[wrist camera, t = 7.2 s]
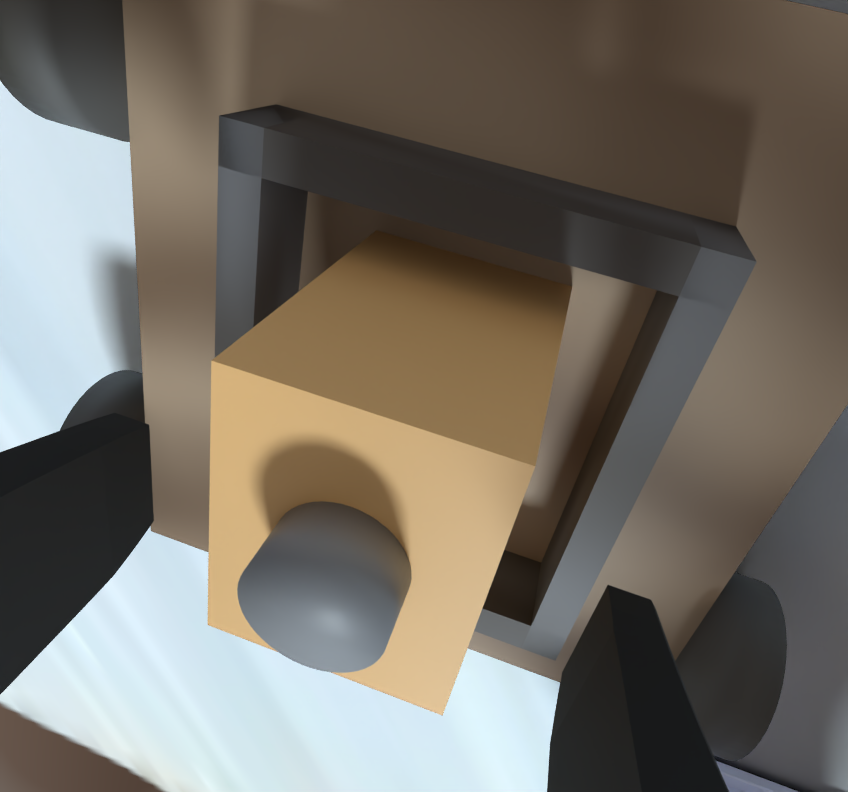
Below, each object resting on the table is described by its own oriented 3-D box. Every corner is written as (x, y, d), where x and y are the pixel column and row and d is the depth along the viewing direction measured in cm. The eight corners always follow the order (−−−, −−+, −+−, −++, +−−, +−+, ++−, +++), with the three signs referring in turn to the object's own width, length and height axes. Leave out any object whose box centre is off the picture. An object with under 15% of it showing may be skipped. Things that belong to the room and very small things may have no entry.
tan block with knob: (504, 483, 15) (424, 779, 9) (345, 429, 15) (170, 677, 9) (572, 286, 12) (523, 524, 6) (376, 230, 13) (160, 400, 7)
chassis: (690, 654, 19) (707, 810, 15) (157, 465, 21) (55, 559, 18) (1086, 80, 11) (1347, 106, 7) (130, -132, 13) (-78, -202, 9)
